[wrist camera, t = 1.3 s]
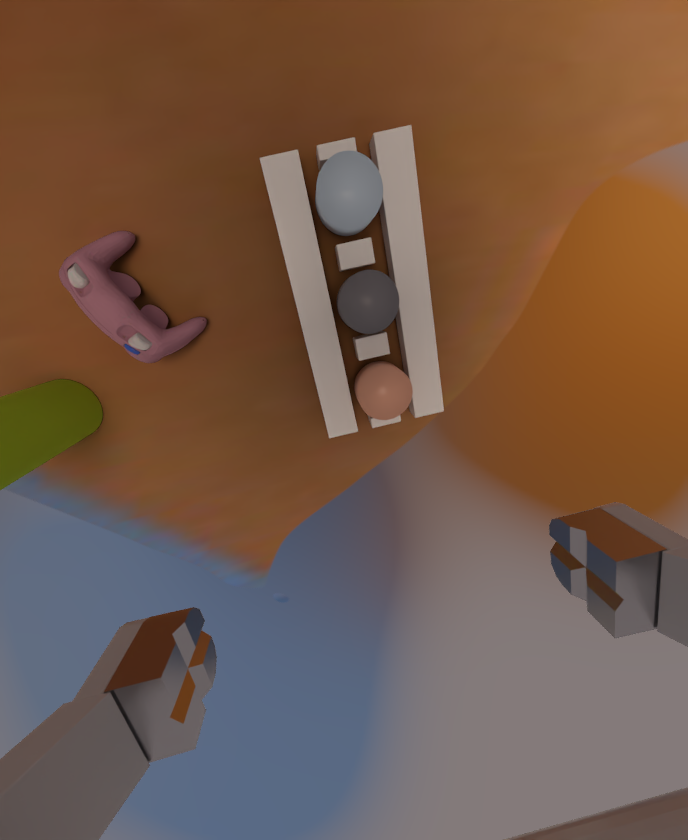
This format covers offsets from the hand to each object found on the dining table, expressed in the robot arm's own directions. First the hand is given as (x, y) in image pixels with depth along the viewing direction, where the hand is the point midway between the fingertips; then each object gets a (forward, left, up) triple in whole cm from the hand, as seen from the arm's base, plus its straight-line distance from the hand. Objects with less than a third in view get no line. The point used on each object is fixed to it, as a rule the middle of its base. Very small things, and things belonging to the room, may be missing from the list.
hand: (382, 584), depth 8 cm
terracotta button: (+3, +5, -26) cm, 27 cm away
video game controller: (-9, -14, -28) cm, 33 cm away
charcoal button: (-5, +5, -26) cm, 27 cm away
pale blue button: (-13, +5, -26) cm, 30 cm away
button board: (-5, +5, -28) cm, 29 cm away
